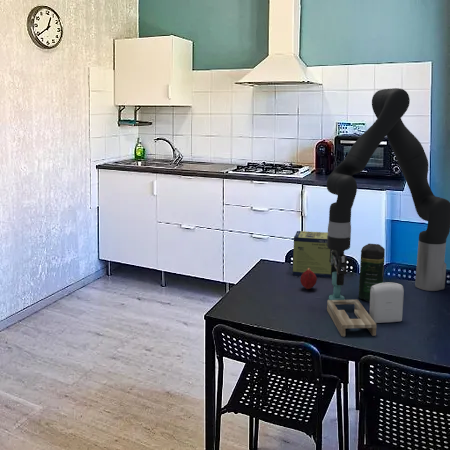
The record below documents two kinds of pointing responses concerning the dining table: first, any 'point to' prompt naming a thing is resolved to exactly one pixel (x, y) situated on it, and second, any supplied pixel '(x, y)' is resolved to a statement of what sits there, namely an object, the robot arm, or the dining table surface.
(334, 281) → the peg
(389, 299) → the photo printer
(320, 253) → the protein box
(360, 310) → the keyhole plate
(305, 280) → the red pomegranate
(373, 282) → the coffee jar
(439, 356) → the dining table surface
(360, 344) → the dining table surface
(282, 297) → the dining table surface
